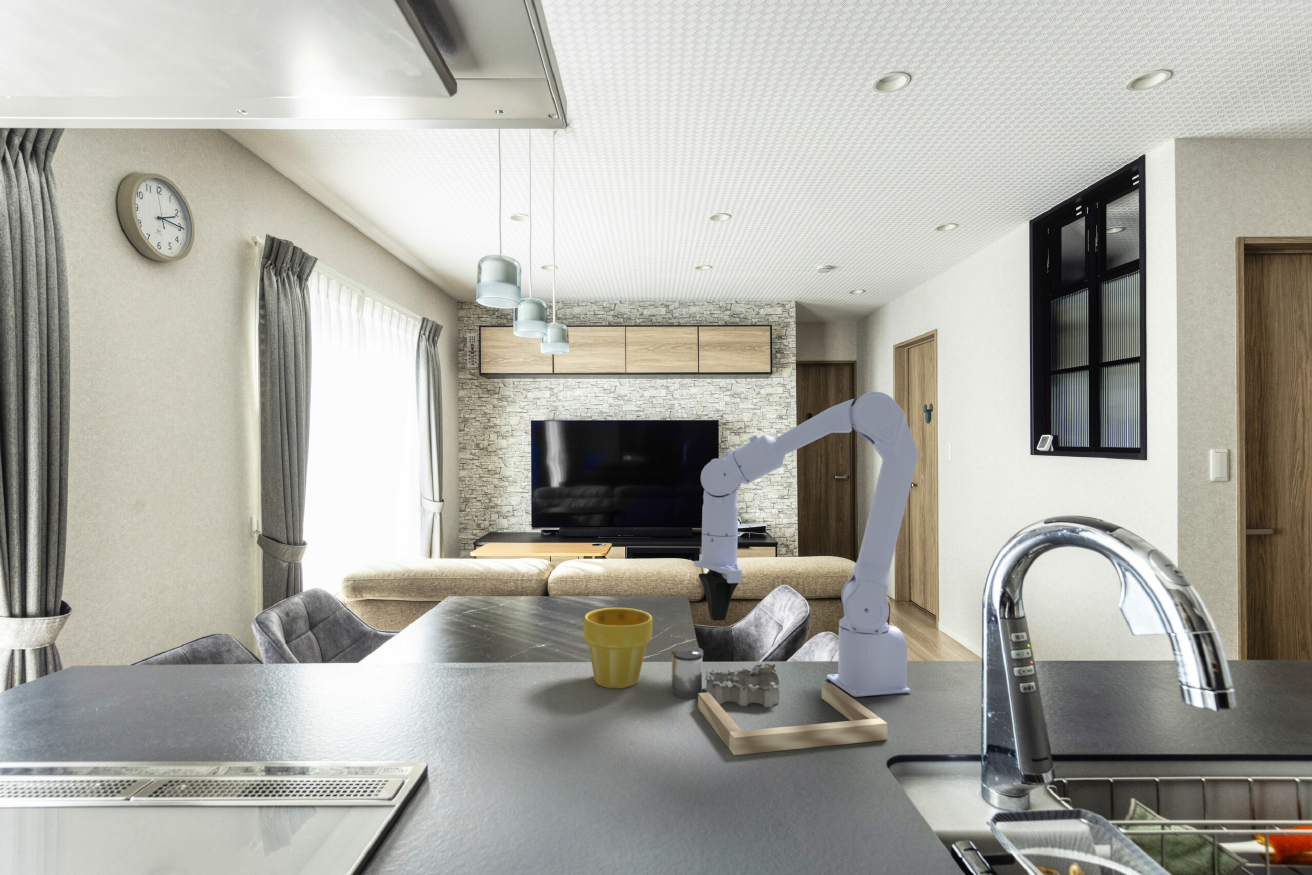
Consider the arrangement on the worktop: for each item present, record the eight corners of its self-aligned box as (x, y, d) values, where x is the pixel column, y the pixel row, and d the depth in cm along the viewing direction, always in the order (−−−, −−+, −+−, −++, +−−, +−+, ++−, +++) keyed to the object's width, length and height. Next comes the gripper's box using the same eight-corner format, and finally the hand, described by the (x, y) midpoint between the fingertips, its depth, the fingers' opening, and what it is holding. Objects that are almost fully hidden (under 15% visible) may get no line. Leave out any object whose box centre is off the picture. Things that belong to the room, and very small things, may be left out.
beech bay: (831, 697, 90) (831, 683, 90) (887, 739, 77) (887, 723, 77) (698, 707, 85) (698, 693, 85) (733, 755, 72) (734, 737, 72)
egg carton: (778, 691, 93) (778, 663, 93) (781, 711, 85) (781, 681, 85) (706, 685, 94) (706, 657, 94) (702, 705, 87) (703, 675, 87)
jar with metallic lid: (696, 685, 93) (697, 644, 93) (706, 697, 89) (707, 654, 89) (667, 688, 92) (667, 646, 92) (675, 700, 88) (676, 656, 88)
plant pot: (650, 695, 89) (651, 626, 90) (577, 692, 90) (579, 624, 90) (652, 669, 100) (653, 607, 100) (587, 667, 100) (588, 606, 100)
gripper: (683, 528, 107) (681, 608, 106) (710, 540, 93) (708, 633, 92) (722, 528, 108) (720, 607, 108) (755, 540, 94) (753, 631, 94)
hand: (717, 619), depth 100 cm, fingers closed
